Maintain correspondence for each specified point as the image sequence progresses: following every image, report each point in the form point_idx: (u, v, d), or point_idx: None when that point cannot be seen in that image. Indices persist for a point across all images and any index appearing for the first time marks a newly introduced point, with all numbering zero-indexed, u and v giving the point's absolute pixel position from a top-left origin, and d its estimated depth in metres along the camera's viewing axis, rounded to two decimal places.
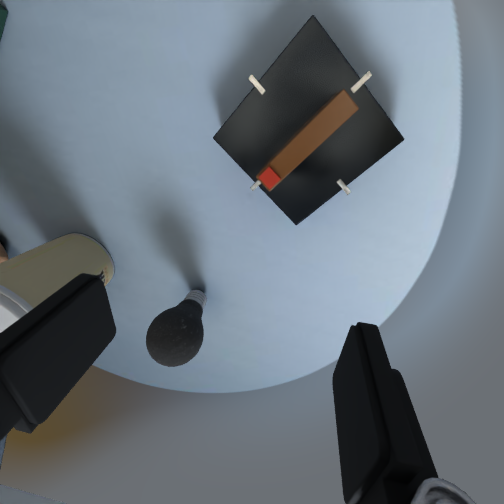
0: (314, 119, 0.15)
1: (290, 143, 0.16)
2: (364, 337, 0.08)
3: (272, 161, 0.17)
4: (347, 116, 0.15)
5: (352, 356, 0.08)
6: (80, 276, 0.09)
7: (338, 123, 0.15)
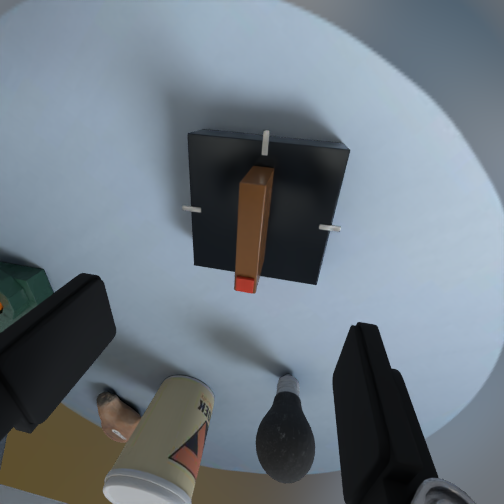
0: (238, 219, 0.14)
1: (237, 249, 0.15)
2: (364, 337, 0.08)
3: (236, 271, 0.16)
4: (262, 198, 0.13)
5: (352, 356, 0.08)
6: (80, 276, 0.09)
7: (260, 208, 0.14)
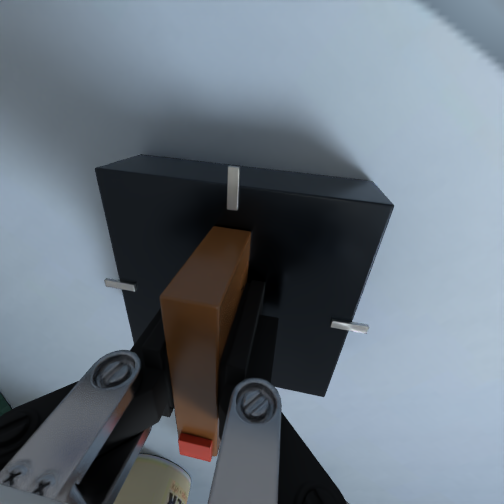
0: (169, 357, 0.07)
1: (174, 398, 0.08)
2: (249, 289, 0.09)
3: (178, 426, 0.09)
4: (212, 328, 0.06)
5: None
6: None
7: (209, 345, 0.06)
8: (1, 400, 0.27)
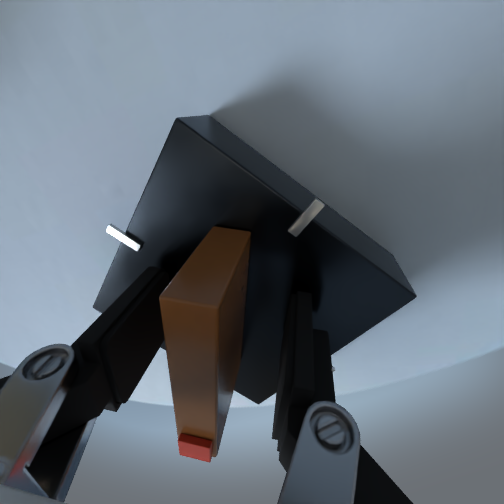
0: (169, 358, 0.07)
1: (174, 399, 0.08)
2: (297, 302, 0.09)
3: (178, 426, 0.08)
4: (212, 329, 0.06)
5: (288, 319, 0.09)
6: (150, 269, 0.10)
7: (209, 346, 0.06)
8: None
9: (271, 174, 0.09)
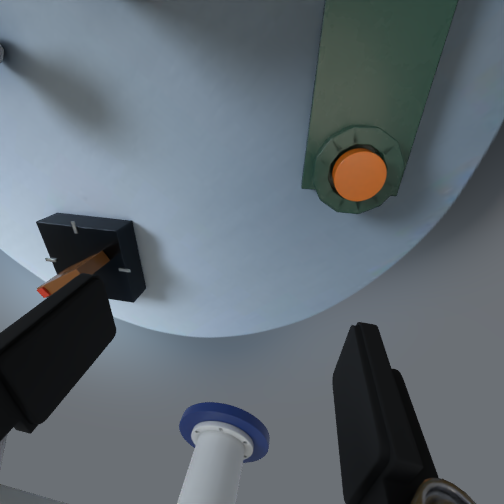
0: (64, 275, 0.27)
1: (53, 281, 0.28)
2: (364, 337, 0.08)
3: (45, 285, 0.28)
4: None
5: (352, 356, 0.08)
6: (80, 276, 0.09)
7: None
8: None
9: (129, 251, 0.31)
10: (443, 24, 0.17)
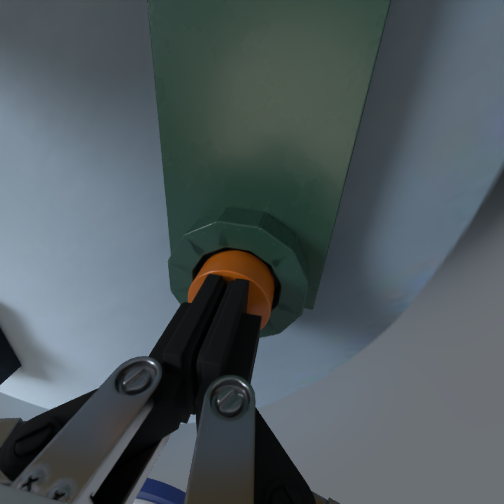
0: None
1: None
2: (232, 288, 0.09)
3: None
4: None
5: None
6: (210, 276, 0.10)
7: None
8: None
9: None
10: (364, 52, 0.09)
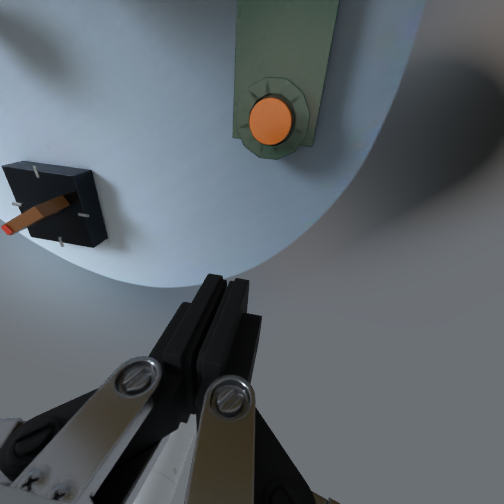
0: (24, 212, 0.30)
1: (15, 218, 0.31)
2: (232, 288, 0.09)
3: (8, 222, 0.31)
4: (39, 217, 0.30)
5: None
6: (210, 276, 0.10)
7: (35, 219, 0.30)
8: None
9: (89, 198, 0.34)
10: None
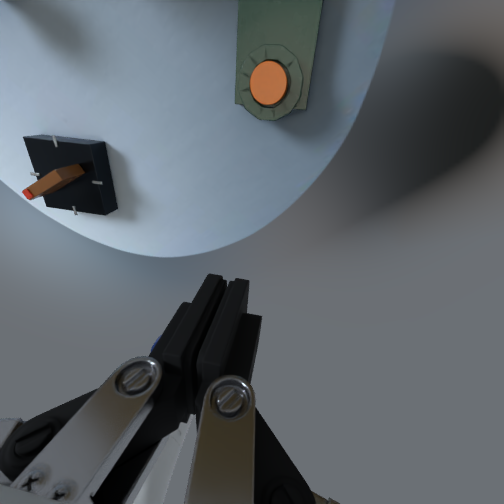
0: (44, 176, 0.33)
1: (36, 182, 0.33)
2: (232, 288, 0.09)
3: (29, 187, 0.34)
4: (58, 181, 0.33)
5: None
6: (210, 276, 0.10)
7: (55, 182, 0.33)
8: None
9: (102, 168, 0.37)
10: None
